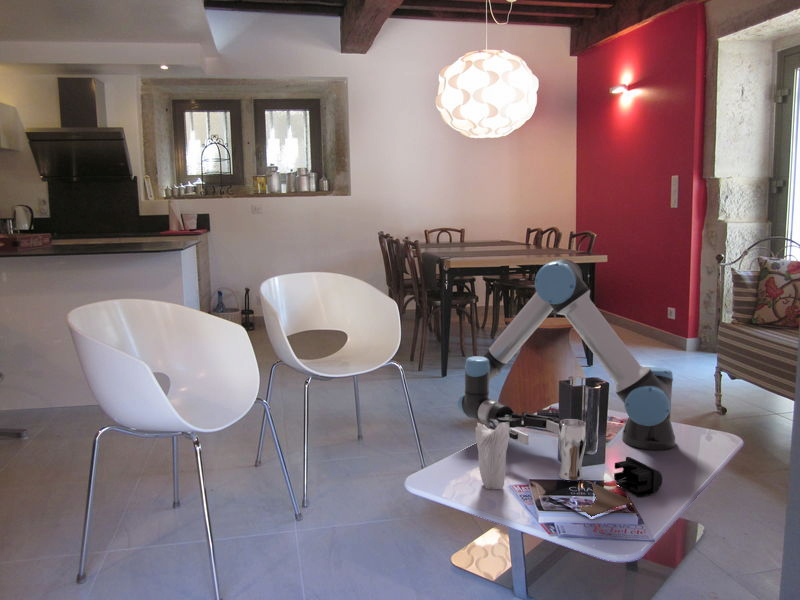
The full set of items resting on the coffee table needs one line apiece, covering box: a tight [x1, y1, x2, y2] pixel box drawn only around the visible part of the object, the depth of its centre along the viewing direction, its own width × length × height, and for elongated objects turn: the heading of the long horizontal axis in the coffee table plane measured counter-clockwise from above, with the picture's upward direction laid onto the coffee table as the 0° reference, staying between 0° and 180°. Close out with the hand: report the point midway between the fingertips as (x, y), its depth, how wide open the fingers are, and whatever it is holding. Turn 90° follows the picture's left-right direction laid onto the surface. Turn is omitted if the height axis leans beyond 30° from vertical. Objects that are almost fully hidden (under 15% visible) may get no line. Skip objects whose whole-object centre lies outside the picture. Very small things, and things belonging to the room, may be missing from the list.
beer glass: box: [558, 418, 587, 480], centre depth 177 cm, size 7×7×15 cm
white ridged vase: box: [474, 422, 511, 490], centre depth 171 cm, size 8×8×18 cm
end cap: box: [613, 456, 663, 499], centre depth 171 cm, size 10×7×7 cm
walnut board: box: [579, 480, 633, 517], centre depth 164 cm, size 14×14×1 cm
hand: (546, 435), depth 185 cm, fingers open, 13 cm apart
